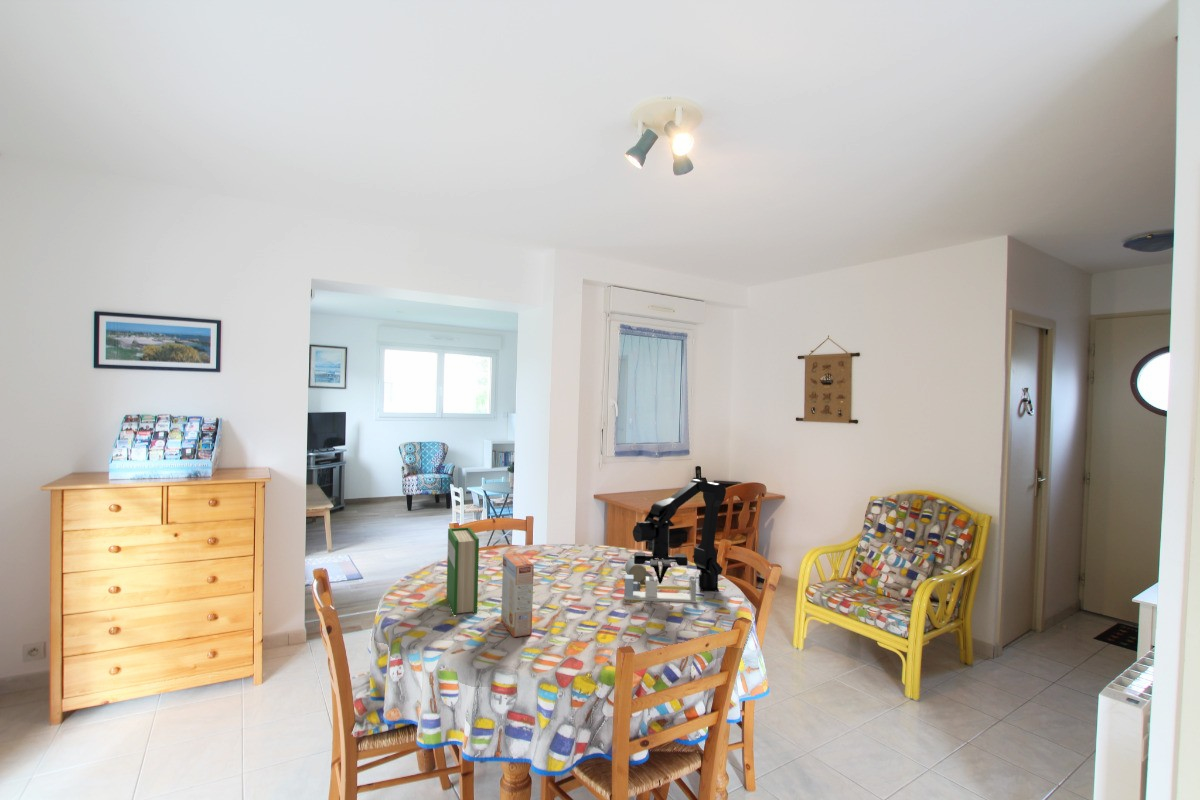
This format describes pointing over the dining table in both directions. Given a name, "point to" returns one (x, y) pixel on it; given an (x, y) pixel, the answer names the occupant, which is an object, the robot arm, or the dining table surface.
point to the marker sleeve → (651, 586)
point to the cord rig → (673, 597)
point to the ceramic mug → (636, 571)
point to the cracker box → (517, 594)
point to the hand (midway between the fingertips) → (659, 583)
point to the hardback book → (462, 570)
